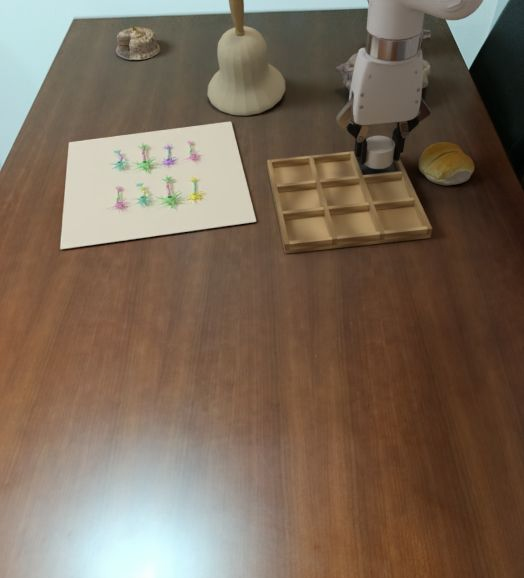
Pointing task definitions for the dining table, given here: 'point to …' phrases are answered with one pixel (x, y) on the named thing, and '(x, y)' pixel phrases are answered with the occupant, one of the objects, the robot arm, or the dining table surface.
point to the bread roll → (445, 164)
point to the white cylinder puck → (379, 152)
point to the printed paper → (153, 185)
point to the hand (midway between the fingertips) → (377, 157)
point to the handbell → (244, 70)
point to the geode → (349, 66)
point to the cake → (137, 44)
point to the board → (343, 203)
